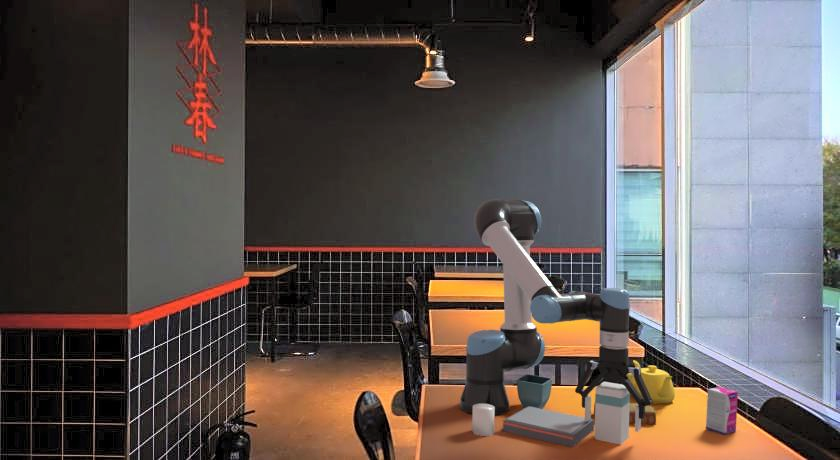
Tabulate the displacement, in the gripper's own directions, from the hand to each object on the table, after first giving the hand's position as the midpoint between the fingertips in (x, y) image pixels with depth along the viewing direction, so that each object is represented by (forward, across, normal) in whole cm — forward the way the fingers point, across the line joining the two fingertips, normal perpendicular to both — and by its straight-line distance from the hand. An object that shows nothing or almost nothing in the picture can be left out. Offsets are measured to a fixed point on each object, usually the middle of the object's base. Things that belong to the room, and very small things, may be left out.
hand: (612, 425), depth 167 cm
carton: (+4, -2, +18) cm, 19 cm away
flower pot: (+4, -28, +12) cm, 31 cm away
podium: (+3, -16, -5) cm, 17 cm away
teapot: (+4, -2, +44) cm, 44 cm away
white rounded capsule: (+4, -30, -17) cm, 35 cm away
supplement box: (+4, +23, +25) cm, 34 cm away
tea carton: (+4, 0, 0) cm, 4 cm away
